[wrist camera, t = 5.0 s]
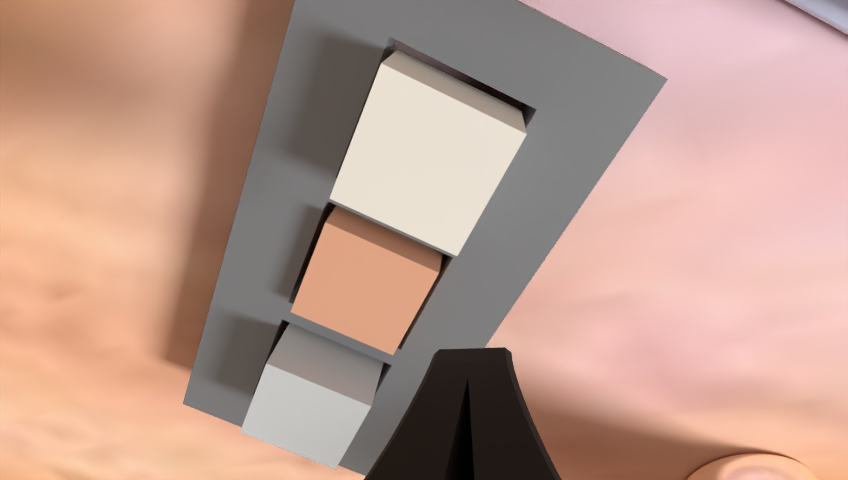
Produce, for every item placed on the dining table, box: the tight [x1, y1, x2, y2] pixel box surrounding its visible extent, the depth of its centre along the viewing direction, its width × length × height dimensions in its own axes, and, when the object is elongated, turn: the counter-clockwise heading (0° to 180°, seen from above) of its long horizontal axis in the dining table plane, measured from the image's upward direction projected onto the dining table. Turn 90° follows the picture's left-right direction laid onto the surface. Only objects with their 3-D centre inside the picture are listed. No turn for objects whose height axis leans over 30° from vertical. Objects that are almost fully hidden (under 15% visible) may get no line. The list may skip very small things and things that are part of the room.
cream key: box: [329, 50, 527, 256], centre depth 14 cm, size 4×4×2 cm
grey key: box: [240, 323, 383, 469], centre depth 19 cm, size 4×4×2 cm
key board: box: [183, 0, 668, 476], centre depth 18 cm, size 10×20×2 cm, turn 155°
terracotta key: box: [291, 205, 442, 355], centre depth 18 cm, size 4×4×2 cm
